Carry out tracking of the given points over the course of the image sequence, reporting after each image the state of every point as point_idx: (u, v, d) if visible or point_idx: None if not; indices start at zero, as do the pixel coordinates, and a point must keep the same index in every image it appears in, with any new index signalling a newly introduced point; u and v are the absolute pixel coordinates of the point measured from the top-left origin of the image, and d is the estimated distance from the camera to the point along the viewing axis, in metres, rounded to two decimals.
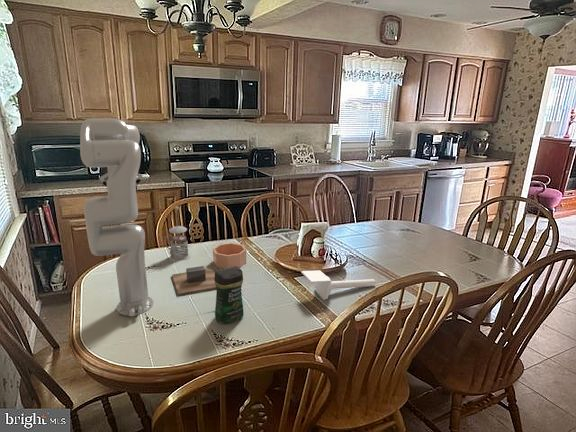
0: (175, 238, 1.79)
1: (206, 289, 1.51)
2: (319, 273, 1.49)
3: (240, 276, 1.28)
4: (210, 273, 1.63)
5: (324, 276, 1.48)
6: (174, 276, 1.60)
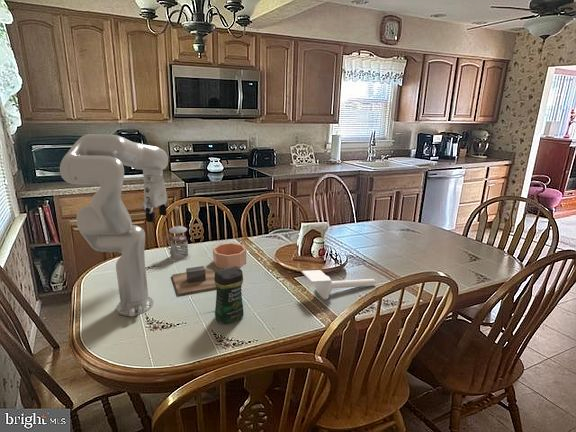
0: (175, 238, 1.79)
1: (206, 289, 1.51)
2: (320, 273, 1.50)
3: (240, 276, 1.28)
4: (210, 273, 1.63)
5: (324, 276, 1.48)
6: (174, 276, 1.60)
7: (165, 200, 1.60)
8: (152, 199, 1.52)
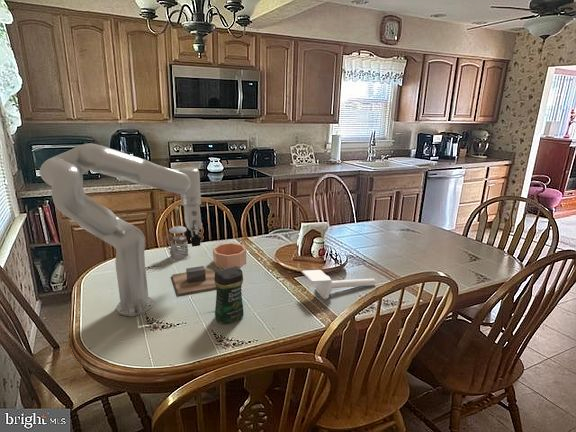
0: (175, 238, 1.79)
1: (206, 289, 1.51)
2: (320, 273, 1.50)
3: (240, 276, 1.28)
4: (210, 273, 1.63)
5: (325, 276, 1.48)
6: (174, 276, 1.60)
7: None
8: (199, 221, 1.46)
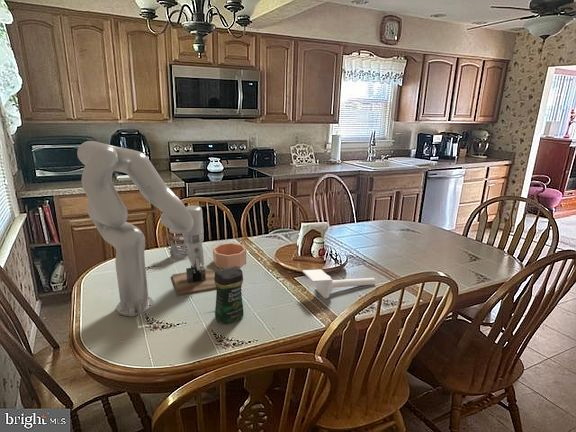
0: (175, 238, 1.79)
1: (206, 289, 1.51)
2: (321, 273, 1.50)
3: (240, 276, 1.28)
4: (210, 273, 1.63)
5: (325, 275, 1.49)
6: (174, 276, 1.60)
7: None
8: (202, 258, 1.50)
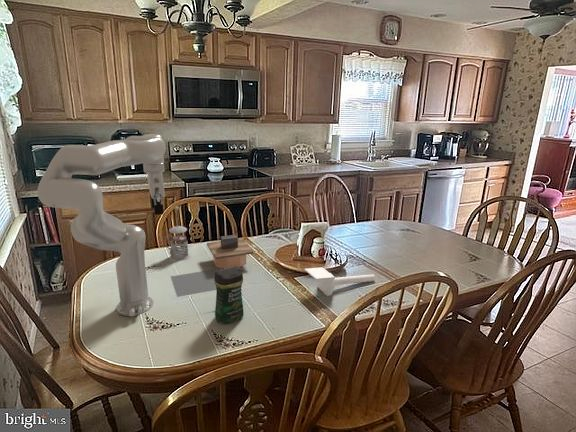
0: (175, 238, 1.79)
1: (239, 254, 1.68)
2: (322, 270, 1.52)
3: (240, 276, 1.28)
4: (241, 242, 1.80)
5: (327, 273, 1.50)
6: (209, 244, 1.77)
7: None
8: (162, 189, 1.44)
